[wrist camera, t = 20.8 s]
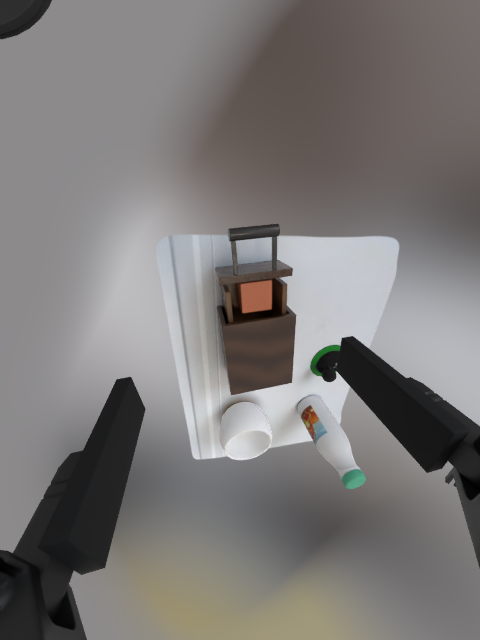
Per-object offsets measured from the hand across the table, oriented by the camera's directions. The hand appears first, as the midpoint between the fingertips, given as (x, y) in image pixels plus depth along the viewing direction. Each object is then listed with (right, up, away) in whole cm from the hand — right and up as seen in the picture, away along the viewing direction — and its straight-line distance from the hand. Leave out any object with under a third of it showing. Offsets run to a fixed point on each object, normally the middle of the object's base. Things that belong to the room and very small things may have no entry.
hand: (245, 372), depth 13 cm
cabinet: (+2, 0, +31) cm, 31 cm away
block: (+1, +9, +24) cm, 26 cm away
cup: (0, -21, +42) cm, 47 cm away
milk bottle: (+20, -21, +46) cm, 55 cm away
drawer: (+1, +10, +25) cm, 27 cm away
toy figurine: (+22, -7, +40) cm, 46 cm away
